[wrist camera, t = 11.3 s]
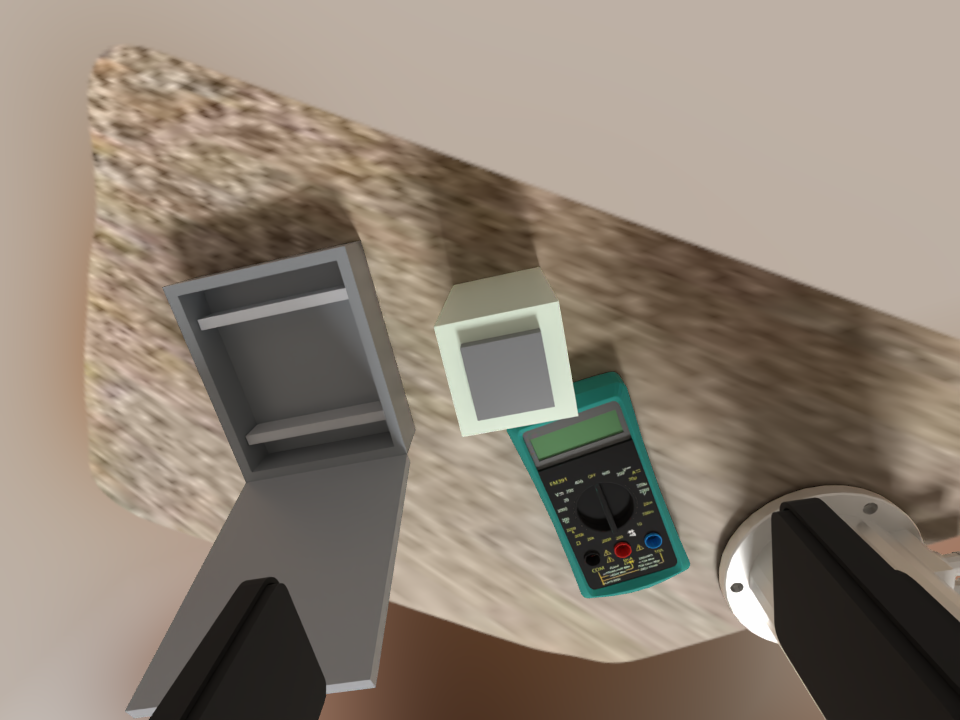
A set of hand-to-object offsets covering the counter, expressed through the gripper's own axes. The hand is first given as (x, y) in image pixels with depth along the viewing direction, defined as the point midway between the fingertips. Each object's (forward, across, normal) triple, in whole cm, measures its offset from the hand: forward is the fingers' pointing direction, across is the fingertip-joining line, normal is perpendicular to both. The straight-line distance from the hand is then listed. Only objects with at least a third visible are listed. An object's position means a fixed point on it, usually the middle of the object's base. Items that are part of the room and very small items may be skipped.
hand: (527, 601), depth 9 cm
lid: (+11, +12, +7) cm, 18 cm away
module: (+20, 0, -1) cm, 20 cm away
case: (+20, +12, 0) cm, 24 cm away
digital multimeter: (+21, -4, +11) cm, 24 cm away
